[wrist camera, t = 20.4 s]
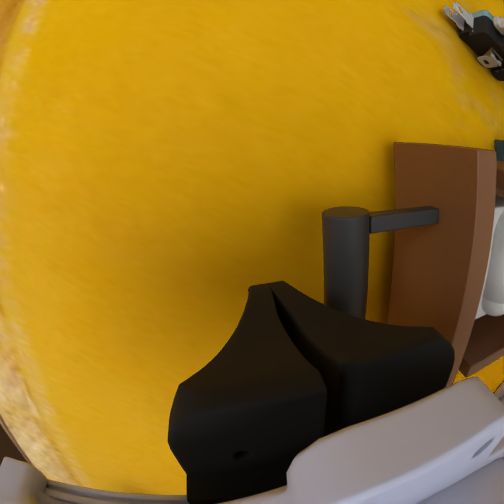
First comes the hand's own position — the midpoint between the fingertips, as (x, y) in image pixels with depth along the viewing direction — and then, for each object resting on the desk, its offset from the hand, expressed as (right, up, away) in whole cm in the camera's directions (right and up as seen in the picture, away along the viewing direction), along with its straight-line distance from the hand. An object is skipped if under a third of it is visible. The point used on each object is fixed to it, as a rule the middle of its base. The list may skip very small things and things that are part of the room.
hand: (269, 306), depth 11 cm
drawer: (+11, +2, +3) cm, 11 cm away
